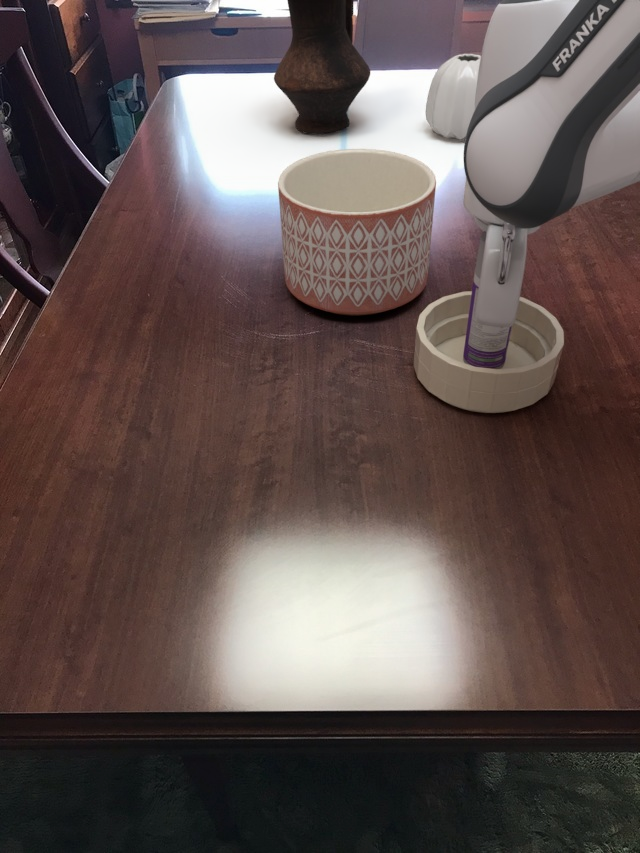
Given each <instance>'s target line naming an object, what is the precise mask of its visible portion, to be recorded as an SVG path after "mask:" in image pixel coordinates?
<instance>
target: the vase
mask: <svg viewBox="0 0 640 853" xmlns="http://www.w3.org/2000/svg"><path fill="white" fill-rule="evenodd" d="M480 59H481V55H480V54H474V53H462V54H456V55H454V56H452V57H451V58H449V59H447V60H446V61H445V62H443V63H442V64H441V65H440V66H439V67H438V68H437V70H436V71H435V73H434V76H433V78H432V80H431V83H430V86H429V90H428V93H427V98H426V103H425V120H426V122H427V124H429V126H430V128H431V129H432V130H433V131H434V133H435V134H437V135H441V136H443V137H444V138H446V139H457V140H459V141H461V140H465V139H466V134H467V130H468V127H469V124H470V121H471V118H472V116H473V113H474V111H475V95H476V87H477V79H478V72H479V65H480Z"/></svg>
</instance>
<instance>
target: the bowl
mask: <svg viewBox="0 0 640 853" xmlns="http://www.w3.org/2000/svg"><path fill="white" fill-rule="evenodd" d="M471 295H472V290H471V291H461V292H460V291H459V292H456V293H453V294H448V295H445V296H442V297H440V298H438V299H437V300H436V299H435V300H434V301H433V302H431V303H429V304H428V305H427V306H426V307H425V308H424V309H423V311H422V312H420V314H419V316H418V319H417V324H416V328H415V342H414V353H413V354H414V355H413V367H414V372H415V375H416V378H417V379H418V381H420V383H421V384H422V385H423V387H424V388H425V389H426V391H427V392H429V393H431V394H432V395H433V396H435V397H436V398H438V399H439V400H441V401H443V402H444V403H447V404H449V405H450V406H453V407H455V408H459V409H462V410H466V411H468V412H475V413H483V414H496V413H497V414H500V413H501V414H502V413H508V412H512V411H517V410H519V409H524V408H526V407H529V406H532V405H534V404H535V403H537V402H538V401H539V400H541V399H542V398H544V397H545V396H547V395H548V393H549V392H550V390H551V388H552V387H553V385H554V383H555V380H556V377H557V373H558V368H559V365H560V361H561V357H562V353H563V350H564V346H565V331H564V329H563V327H562V326H561V324H560V322H559V320H558V319H557V317H555V315H553V314H552V313H551V312H550V311H548V310H547V309H546V308H545V307H543V306H542V305H539V304H537V303H535V302H533V301H531V300H530V299H527V298H525V297H522V296H520V299H519V304H518V310H517V315H516V319H515V322H514V324H513V325H512V328H511V334H510V339H509V344H508V349H507V355H506V360H505V364H504V366H503V367H502V368H501V369H490V368H482V367H475V366H471V365H468V364H465V363H464V361H463V353H464V346H465V339H466V331H467V324H468V317H469V309H470V302H471Z"/></svg>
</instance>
